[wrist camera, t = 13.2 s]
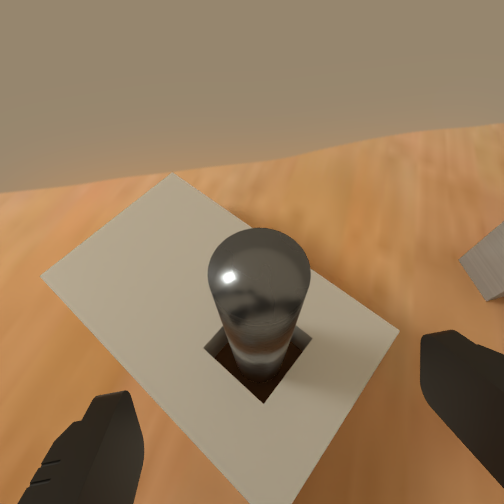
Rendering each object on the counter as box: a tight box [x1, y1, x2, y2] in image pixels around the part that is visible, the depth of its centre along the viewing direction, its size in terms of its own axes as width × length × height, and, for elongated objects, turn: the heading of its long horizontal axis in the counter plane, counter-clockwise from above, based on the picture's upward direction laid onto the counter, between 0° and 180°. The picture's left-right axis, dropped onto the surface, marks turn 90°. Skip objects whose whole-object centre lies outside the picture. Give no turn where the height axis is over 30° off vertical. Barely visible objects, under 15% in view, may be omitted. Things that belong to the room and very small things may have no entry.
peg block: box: [40, 172, 400, 504], centre depth 22 cm, size 20×12×4 cm, turn 50°
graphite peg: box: [207, 228, 311, 383], centre depth 16 cm, size 3×3×14 cm
